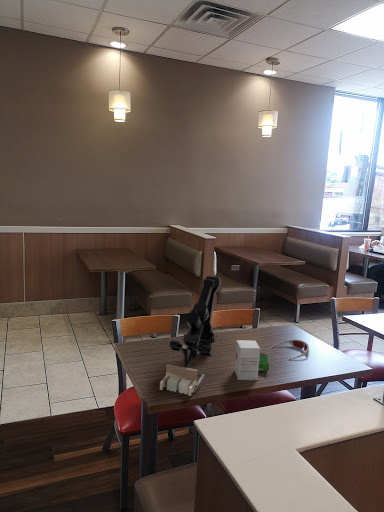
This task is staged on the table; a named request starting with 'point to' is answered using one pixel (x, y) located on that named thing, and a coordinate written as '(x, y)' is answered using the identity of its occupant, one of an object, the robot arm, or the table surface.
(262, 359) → the snack package
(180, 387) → the cream block
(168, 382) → the sage block
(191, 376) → the toy sofa
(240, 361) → the supplement box
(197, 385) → the steel handle
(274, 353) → the table surface
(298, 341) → the sunglasses
